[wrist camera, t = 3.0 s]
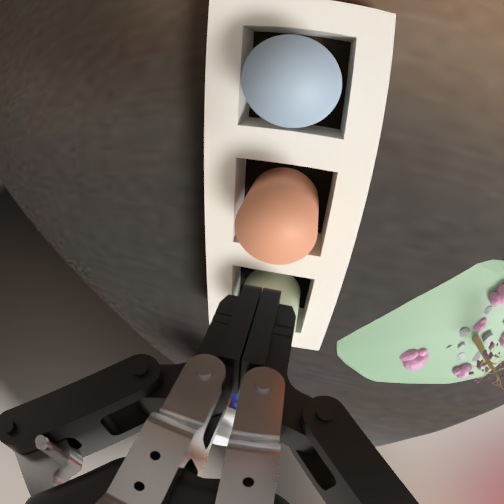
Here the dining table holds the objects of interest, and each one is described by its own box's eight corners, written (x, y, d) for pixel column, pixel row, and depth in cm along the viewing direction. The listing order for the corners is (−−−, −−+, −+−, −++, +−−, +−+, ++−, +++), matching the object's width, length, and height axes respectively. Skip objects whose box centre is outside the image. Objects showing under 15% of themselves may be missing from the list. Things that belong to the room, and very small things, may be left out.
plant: (363, 402, 36) (362, 461, 29) (314, 306, 27) (305, 390, 20) (525, 352, 25) (543, 406, 18) (548, 225, 17) (597, 287, 9)
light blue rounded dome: (255, 111, 17) (238, 122, 14) (260, 39, 14) (243, 31, 11) (331, 121, 16) (335, 135, 13) (340, 48, 13) (347, 41, 10)
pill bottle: (240, 354, 33) (218, 429, 25) (266, 378, 35) (250, 448, 27) (206, 362, 36) (181, 429, 28) (232, 384, 38) (213, 448, 30)
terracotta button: (247, 224, 21) (233, 257, 18) (251, 162, 19) (235, 186, 15) (312, 235, 21) (310, 270, 18) (323, 173, 18) (324, 199, 15)
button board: (219, 307, 29) (209, 330, 27) (225, 4, 14) (209, -5, 12) (320, 326, 28) (318, 350, 25) (384, 21, 13) (395, 14, 10)
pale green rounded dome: (243, 304, 26) (231, 340, 23) (245, 262, 23) (232, 298, 20) (295, 314, 25) (290, 351, 22) (305, 273, 23) (300, 310, 20)
